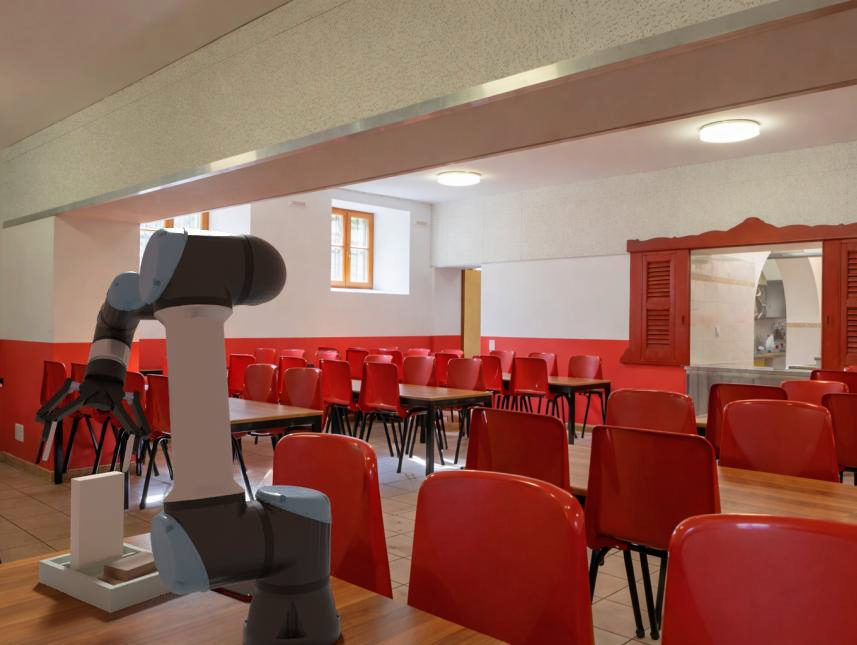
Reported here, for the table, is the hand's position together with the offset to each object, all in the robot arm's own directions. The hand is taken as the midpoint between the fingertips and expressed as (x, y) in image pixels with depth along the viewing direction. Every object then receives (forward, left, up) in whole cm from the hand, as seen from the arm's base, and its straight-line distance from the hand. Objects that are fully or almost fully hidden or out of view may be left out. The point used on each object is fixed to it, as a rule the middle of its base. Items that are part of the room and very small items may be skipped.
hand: (86, 463), depth 130 cm
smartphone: (-15, -20, -24) cm, 35 cm away
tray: (-1, -5, -23) cm, 24 cm away
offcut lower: (-7, -5, -22) cm, 24 cm away
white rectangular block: (+5, -5, -22) cm, 23 cm away
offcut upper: (-7, -6, -20) cm, 22 cm away
